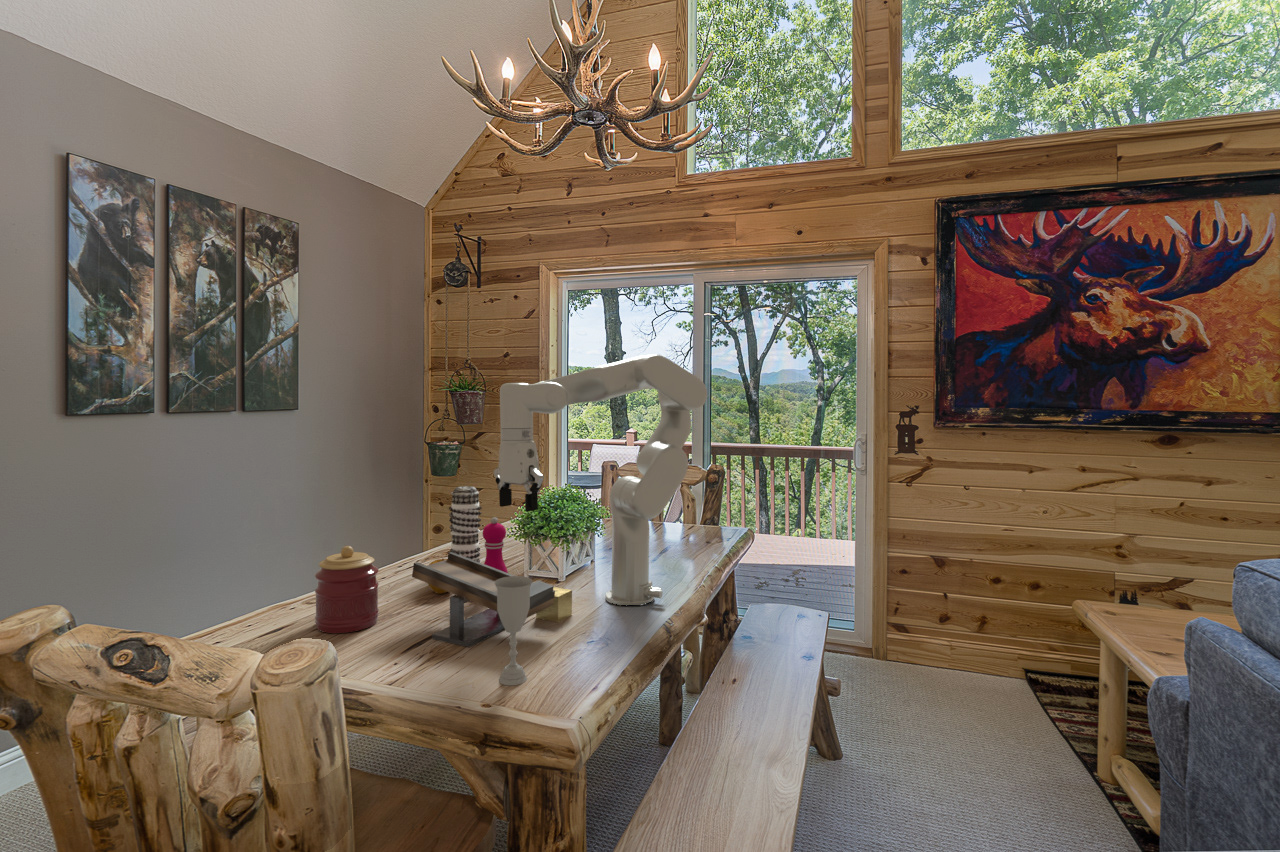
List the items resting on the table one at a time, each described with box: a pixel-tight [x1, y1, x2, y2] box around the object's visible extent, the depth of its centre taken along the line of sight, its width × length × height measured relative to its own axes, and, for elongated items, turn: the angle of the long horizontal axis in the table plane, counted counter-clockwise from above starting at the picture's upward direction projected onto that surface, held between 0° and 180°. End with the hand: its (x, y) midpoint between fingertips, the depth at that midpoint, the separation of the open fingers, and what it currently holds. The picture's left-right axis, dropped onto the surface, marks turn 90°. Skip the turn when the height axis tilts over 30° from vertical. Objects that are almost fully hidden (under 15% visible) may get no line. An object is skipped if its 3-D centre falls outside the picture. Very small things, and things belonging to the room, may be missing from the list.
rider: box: [535, 586, 573, 623], centre depth 150 cm, size 6×6×6 cm
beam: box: [411, 551, 555, 619], centre depth 141 cm, size 30×13×6 cm, turn 65°
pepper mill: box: [482, 517, 509, 573], centre depth 167 cm, size 7×7×20 cm
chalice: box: [495, 575, 534, 686], centre depth 116 cm, size 7×7×18 cm
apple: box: [427, 558, 449, 595], centre depth 167 cm, size 9×9×9 cm
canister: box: [314, 545, 380, 634], centre depth 143 cm, size 13×13×18 cm
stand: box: [431, 594, 505, 648], centre depth 142 cm, size 10×20×9 cm, turn 154°
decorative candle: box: [448, 485, 483, 563], centre depth 187 cm, size 9×9×25 cm
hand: (518, 508), depth 150 cm, fingers open, 9 cm apart
